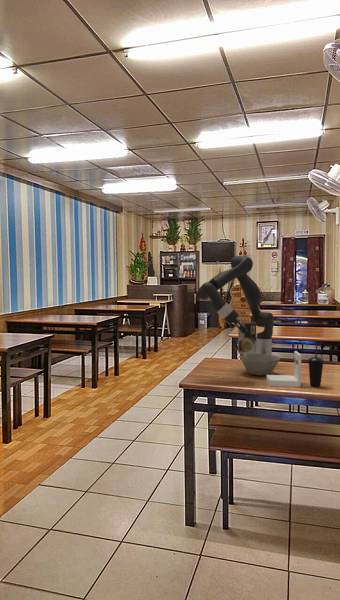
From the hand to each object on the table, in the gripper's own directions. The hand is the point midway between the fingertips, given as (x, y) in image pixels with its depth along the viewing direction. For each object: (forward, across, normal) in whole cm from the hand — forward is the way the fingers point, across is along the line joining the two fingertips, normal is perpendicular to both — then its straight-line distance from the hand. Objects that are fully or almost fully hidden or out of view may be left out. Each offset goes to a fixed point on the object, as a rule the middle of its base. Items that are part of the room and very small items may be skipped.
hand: (250, 336), depth 220 cm
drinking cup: (+40, -6, -6) cm, 40 cm away
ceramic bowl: (+22, +17, +12) cm, 30 cm away
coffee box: (+5, 0, +8) cm, 9 cm away
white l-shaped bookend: (+28, -3, +5) cm, 29 cm away
